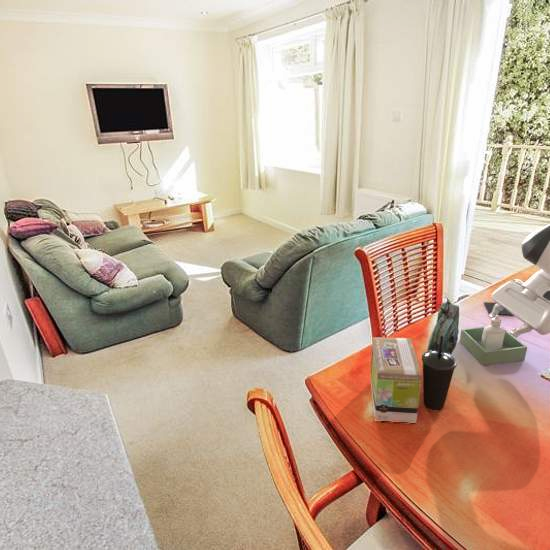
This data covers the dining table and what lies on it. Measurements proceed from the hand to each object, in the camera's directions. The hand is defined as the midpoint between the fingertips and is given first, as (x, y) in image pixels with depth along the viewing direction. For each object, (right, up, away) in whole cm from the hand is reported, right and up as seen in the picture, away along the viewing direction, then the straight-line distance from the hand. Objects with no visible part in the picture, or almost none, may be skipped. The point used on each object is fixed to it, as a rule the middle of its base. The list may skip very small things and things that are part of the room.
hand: (501, 326), depth 107 cm
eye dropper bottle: (-1, -8, +4) cm, 9 cm away
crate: (-1, -8, +4) cm, 9 cm away
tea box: (-35, -18, -12) cm, 41 cm away
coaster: (+14, +3, +24) cm, 28 cm away
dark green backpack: (-18, -12, -1) cm, 22 cm away
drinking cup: (-25, -18, -14) cm, 34 cm away
